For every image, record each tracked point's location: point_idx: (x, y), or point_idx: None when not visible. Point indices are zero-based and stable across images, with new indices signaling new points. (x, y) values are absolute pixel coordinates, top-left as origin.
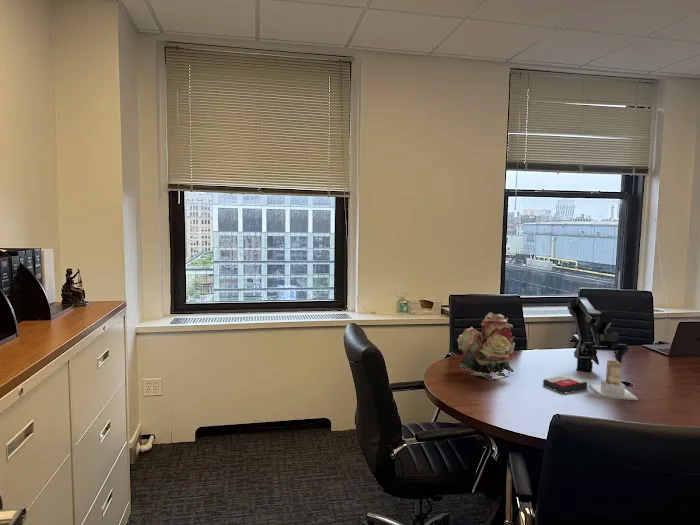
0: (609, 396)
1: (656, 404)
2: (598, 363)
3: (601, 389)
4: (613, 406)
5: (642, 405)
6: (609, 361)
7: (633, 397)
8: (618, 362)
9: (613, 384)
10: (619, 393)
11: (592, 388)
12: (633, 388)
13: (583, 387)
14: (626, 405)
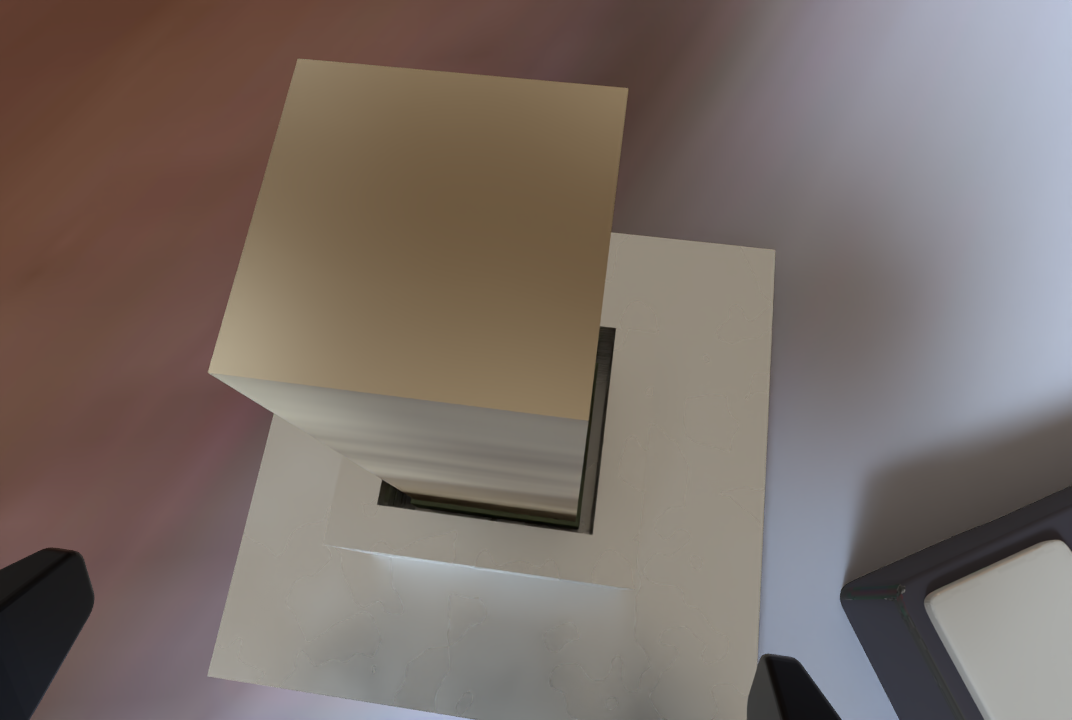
0: (676, 242)
1: (202, 116)
2: (783, 664)
3: (656, 495)
4: (757, 28)
5: None
6: (592, 249)
7: None
8: (309, 161)
9: None
10: None
11: (756, 589)
12: None
13: (938, 550)
14: (585, 64)
